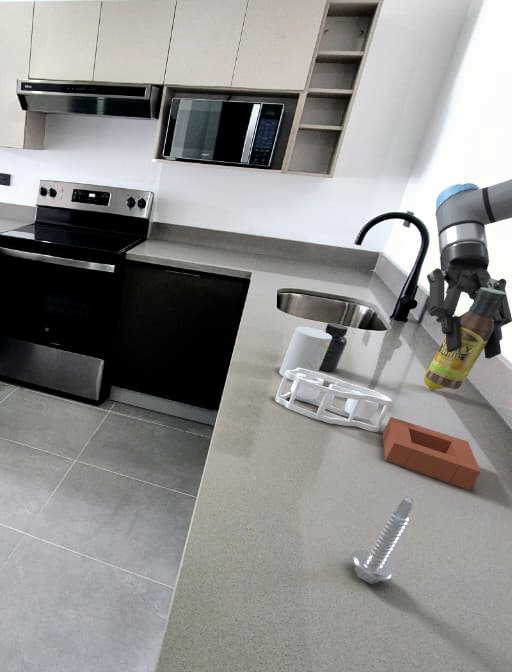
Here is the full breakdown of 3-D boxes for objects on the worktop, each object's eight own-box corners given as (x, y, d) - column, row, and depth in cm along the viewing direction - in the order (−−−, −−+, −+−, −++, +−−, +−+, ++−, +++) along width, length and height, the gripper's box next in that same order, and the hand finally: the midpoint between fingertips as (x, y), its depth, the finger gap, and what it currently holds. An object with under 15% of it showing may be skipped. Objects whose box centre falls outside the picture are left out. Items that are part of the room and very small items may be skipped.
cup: (308, 386, 122) (327, 341, 117) (275, 374, 126) (291, 329, 121) (317, 378, 127) (335, 335, 123) (285, 366, 132) (301, 324, 127)
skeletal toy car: (379, 423, 108) (394, 393, 105) (375, 441, 100) (390, 410, 97) (283, 388, 119) (294, 360, 116) (272, 403, 110) (283, 373, 107)
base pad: (457, 458, 99) (467, 441, 97) (469, 490, 88) (481, 472, 86) (382, 433, 104) (390, 416, 102) (385, 460, 94) (394, 442, 92)
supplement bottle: (313, 359, 140) (329, 319, 135) (338, 369, 136) (356, 328, 131) (303, 364, 136) (320, 323, 131) (330, 374, 132) (348, 332, 127)
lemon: (419, 389, 130) (433, 361, 127) (418, 383, 135) (432, 356, 131) (444, 397, 128) (460, 369, 124) (443, 390, 132) (457, 363, 129)
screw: (377, 566, 67) (394, 595, 63) (339, 558, 68) (354, 586, 63) (421, 489, 62) (443, 514, 57) (380, 480, 62) (399, 505, 58)
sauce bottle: (416, 377, 104) (462, 284, 96) (436, 376, 106) (483, 285, 98) (448, 391, 99) (499, 294, 90) (468, 390, 101) (521, 295, 92)
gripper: (497, 269, 106) (510, 368, 98) (402, 254, 108) (407, 350, 100) (529, 248, 99) (546, 354, 91) (426, 233, 101) (434, 335, 93)
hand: (473, 352), depth 96 cm, fingers closed on sauce bottle, 6 cm apart
